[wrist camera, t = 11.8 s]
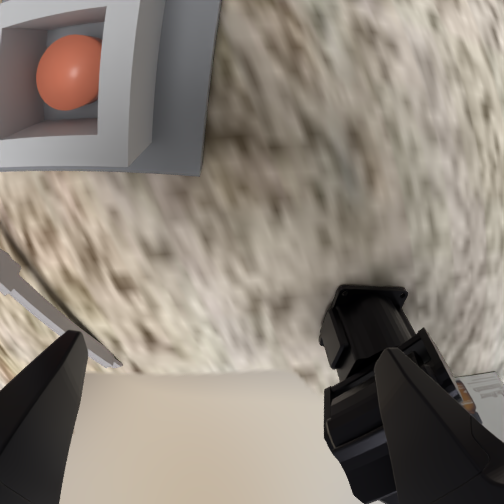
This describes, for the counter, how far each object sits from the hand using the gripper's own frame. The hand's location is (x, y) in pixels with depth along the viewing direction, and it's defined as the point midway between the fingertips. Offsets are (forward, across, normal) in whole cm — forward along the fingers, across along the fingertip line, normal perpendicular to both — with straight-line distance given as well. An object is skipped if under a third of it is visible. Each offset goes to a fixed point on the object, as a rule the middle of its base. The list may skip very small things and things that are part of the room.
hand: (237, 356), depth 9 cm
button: (+11, +9, -7) cm, 16 cm away
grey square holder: (+13, +9, -7) cm, 17 cm away
